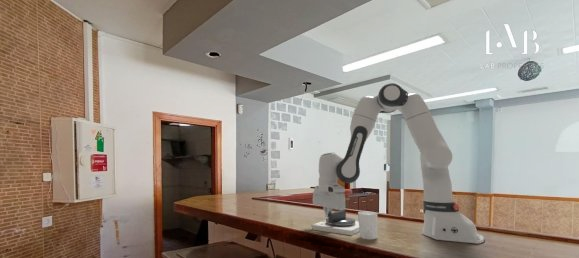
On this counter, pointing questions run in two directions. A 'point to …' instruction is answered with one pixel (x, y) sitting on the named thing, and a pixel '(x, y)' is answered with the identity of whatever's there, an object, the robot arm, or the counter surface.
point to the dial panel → (337, 228)
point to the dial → (339, 219)
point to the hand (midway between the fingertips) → (327, 217)
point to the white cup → (368, 224)
